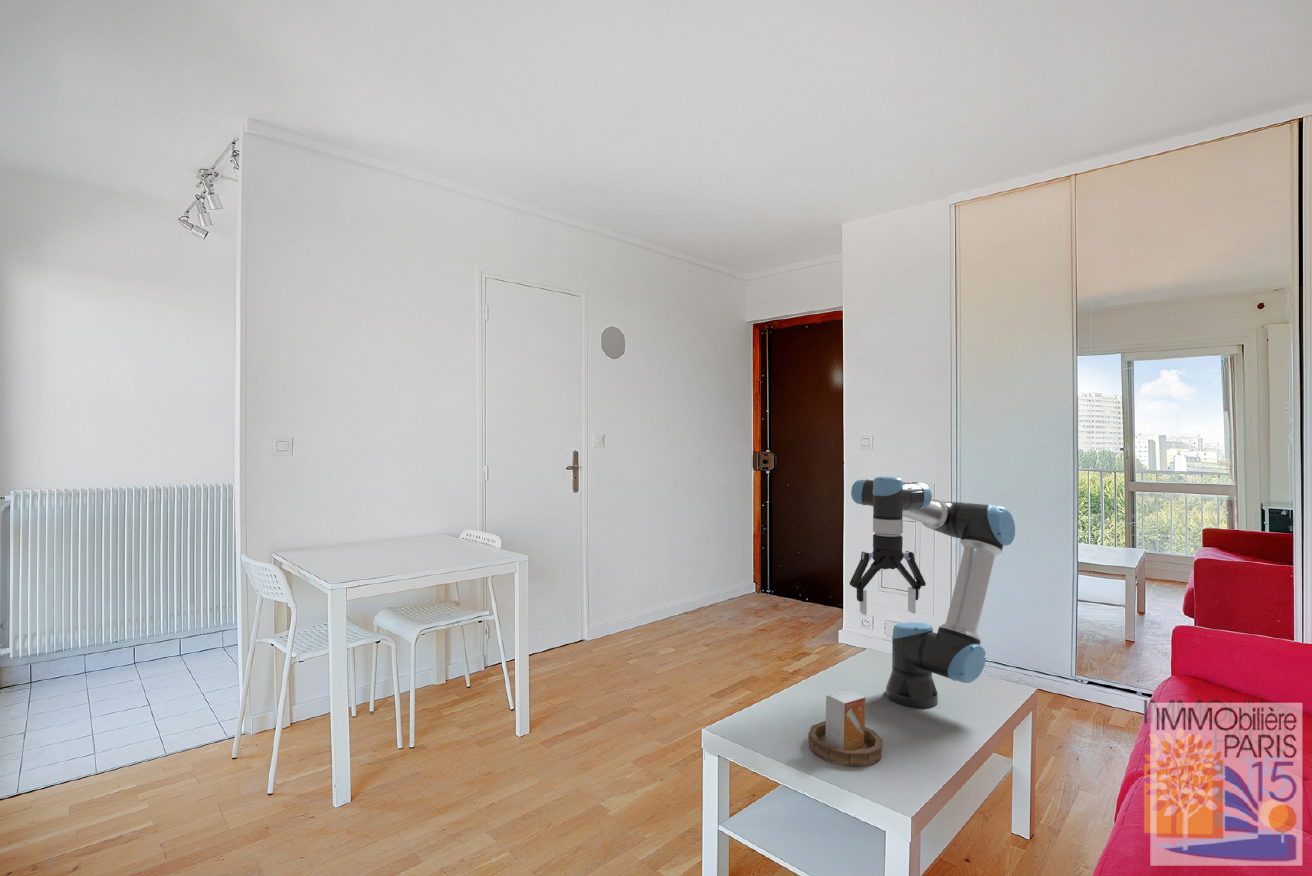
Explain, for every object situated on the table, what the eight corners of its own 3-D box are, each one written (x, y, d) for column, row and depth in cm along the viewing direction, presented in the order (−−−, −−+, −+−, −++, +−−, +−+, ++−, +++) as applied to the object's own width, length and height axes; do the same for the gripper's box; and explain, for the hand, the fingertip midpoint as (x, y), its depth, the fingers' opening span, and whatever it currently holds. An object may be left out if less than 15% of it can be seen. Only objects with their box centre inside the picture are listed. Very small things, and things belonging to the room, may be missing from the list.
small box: (843, 755, 159) (844, 703, 160) (824, 744, 165) (825, 694, 165) (865, 747, 164) (865, 696, 164) (845, 737, 169) (846, 688, 169)
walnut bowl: (863, 732, 174) (864, 720, 174) (894, 765, 156) (894, 752, 156) (800, 734, 172) (800, 722, 172) (823, 768, 154) (823, 754, 154)
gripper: (924, 531, 175) (924, 607, 175) (837, 532, 173) (837, 609, 173) (939, 535, 168) (939, 615, 168) (848, 536, 166) (848, 617, 166)
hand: (887, 612), depth 170 cm, fingers open, 13 cm apart
